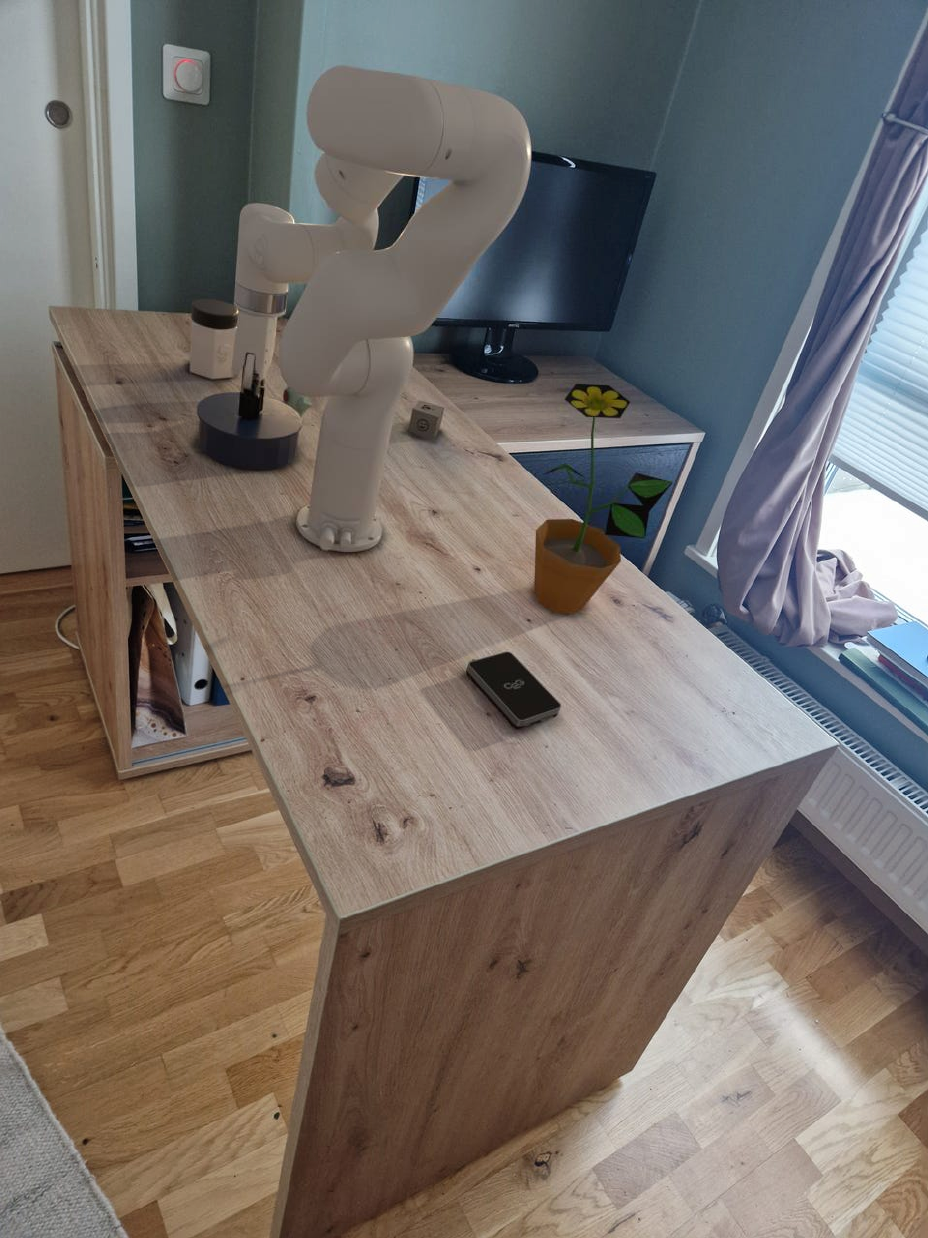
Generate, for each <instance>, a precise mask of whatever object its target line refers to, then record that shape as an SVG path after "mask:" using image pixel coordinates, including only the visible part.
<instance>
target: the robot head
mask: <svg viewBox="0 0 928 1238" xmlns="http://www.w3.org/2000/svg"><path fill="white" fill-rule="evenodd" d="M282 401H283V403H285V404H286V405H288V406H290V407H291V408H293V409H294V410H295V411H296V412H297V413H298V414H299V415H300V417H301V419H302V418H304V417H303V416H304V415H305V413H306V411H307V410H309V409H310V408H311V407H313V404H312V403H311V401H310V399H309V397H307V396H303V395H300V394H298V393H296V392H295V391H293V390H292V389H291V388H290V387H289V386H288V385H287V384H286V386H285V389H284V390H283V394H282Z"/></svg>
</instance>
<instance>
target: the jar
mask: <svg viewBox="0 0 928 1238" xmlns="http://www.w3.org/2000/svg"><path fill="white" fill-rule="evenodd" d="M238 314H239V309H238V308H237V307H235V305H234V304H231V303H229V302H226V301H222V300H220V299H219V300H218V299H213V298H200V299H195V300H193V301H192V302H191V312H190V316H191V317H190V318H191V328H190V329H191V330H190V355H189V372H190V373H191V374H192V373H193V374H195V375H199V376H200V377H204V378H207V379H209V380H220V379H230V378H234V376H233V375H232V373H231V368H232V359H233V350H234V341H235V332H236V325H237V319H238Z"/></svg>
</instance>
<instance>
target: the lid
mask: <svg viewBox="0 0 928 1238" xmlns="http://www.w3.org/2000/svg"><path fill="white" fill-rule="evenodd" d="M253 383H255V382H253ZM255 385H256V383H255ZM261 387H262V386H260V390H261ZM259 395H260V394H259ZM239 398H240V391H238V392H237V391H236V392H234V391H232V392H231V391H230V392H229V391H227V392H220V393H219V392H218V393H215V394H211V395H208V396H206V397H203V399H201V400H200V401H199V402H198V404H197V406H196V415H197V417H198V419H199V420H201V421H202V422H203V423H204V424H205V425H206V426H208V427H209V428H211V429H213V430H215V431H217V432H219V433H222V434H224V435H227V436H230V437H234V438H238V439H243V440H250V441H278V440H283V439H287V438H290V437H292V436H294V435H296V434H297V433H298V432H299V433H300V431H301V430H302V426H303V420H302V418H301V417H300V415H299V414H298V413H297V412H296V411H295V410H294V409H293V408H291V407H290V406H288V405H286V404H285V403H283V402H282V401H280V400H278V399H276V398H274V397H273V398H272V397H269V396H266V395H264V401H263V410H262V411H261V412H260V415H259V419H258V420H255V419H250V418H246V417H241V416H239V415H238V411H239Z"/></svg>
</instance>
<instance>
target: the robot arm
mask: <svg viewBox="0 0 928 1238" xmlns="http://www.w3.org/2000/svg"><path fill="white" fill-rule="evenodd" d="M306 103H307V104H306V125H307V129H308V133H309V135H310V136H309V137H310V138H311V140H312V142H313V143H314V145H315V147H316V148H317V149H319V150H320V151H321V153H322V154H321V156H320V157H318V158H319V159H318V160H317V162H316V165H315V169H314V180H315V181H314V182H315V185H316V188H317V190H318V191H317V192H318V193H319V194H320V197H321V199H322V200H323V201H324V203H325V204H326V205H327V206H328V207H329V208H330V209H331V210H332V211H333V212H334V213H336V215H338V216H339V217H338V218H337V220H336V221H334V223H332V224H318V223H301V222H300V223H298V222H296V223H295V220H294V217H293V216H292V215H291V213H289V212H288V211H287V210H285V209H283V208H280V207H278V206H274V205H271V204H267V203H259V202H257V203H255V202H254V203H248V204H245V205H244V206H243V207H242V209H241V211H240V213H239V223H238V237H237V249H236V250H237V252H236V262H235V278H234V279H235V280H234V292H233V293H234V294H233V306H235V307H236V308H237V310H238V319H237V325H236V332H235V341H234V350H233V359H232V368H231V373H232V375H233V377H236V376H239V375H240V373H241V382H240V391H239V392H240V398H239V411H238V415H239V416H241V417H246V418H250V419H255V420H258V419H259V415H260V412H261V411H262V410H263V401H264V396H265V390H266V387H265V381H266V376H267V373H268V372H269V370H270V367H271V365H272V362H273V358H274V357H273V356H274V351H275V344H276V338H277V337H276V336H277V326H278V318H280V317H282V316H284V315H286V312H287V302H288V293H289V284H291V285H292V284H294V285H295V284H296V285H301V284H307V285H306V286H305V288H304V290H303V291H302V294H301V295H300V298H299V299H298V301H297V304H296V305H295V307H294V309H293V310H292V313H291V315H290V317H289V319H288V321H287V323H286V324H285V327H284V329H283V332H282V335H281V337H280V342H279V347H278V364H279V365H278V367H279V372H280V374H281V376H282V379H283V381H284V382H285V384H286V386H287V385H288V386H289V387H290V388H291V389H292V390H293V391H295V392H296V393H298V394H300V395H303V396H307V397H308V398H326V397H328V398H327V400H326V403H325V406H324V408H323V411H322V415H321V421H320V427H319V434H318V440H317V441H318V442H317V448H316V454H315V455H316V456H315V462H314V470H313V476H312V484H311V491H310V497H309V504H306V505H305V506H303V507H302V508H300V509H299V510H298V512H297V515H296V520H295V525H296V529H297V530H298V532H299V534H301V536H302V537H303V538H304V539H306V540H307V541H308V542H310V543H312V544H314V545H315V546H318V547H319V548H320V549H321V550H323V551H335V552H339V553H340V552H341V553H357V552H363V551H366V550H369V549H371V548H373V547H375V546H377V544H378V543H380V540H381V538H382V534H383V527H382V523H381V522H380V521H379V519H378V517H376V511H377V506H378V505H377V504H378V499H379V495H380V490H381V485H382V479H383V476H384V469H385V464H386V458H387V454H388V450H389V449H388V448H389V444H390V439H391V435H392V430H393V425H394V420H395V416H396V413H397V408H398V406H399V403H400V401H401V398H402V394H403V392H404V390H405V387H406V386H407V383H408V380H409V378H410V375H411V373H412V369H413V364H414V356H415V355H414V352H415V351H414V344H413V340H412V338H411V337H413V336H414V337H415V336H418V335H420V334H422V333H424V332H426V331H427V330H428V329H429V328H430V327H431V326H432V325H433V323H434V322H435V321H436V320H437V318H438V317H439V315H440V314H441V313H442V312H443V310H444V308H445V307H446V306H447V304H448V303H449V301H451V299H452V297H453V296H454V295H455V294H456V292H457V291H458V290H459V288H460V286H462V284H463V282H464V281H465V280H466V278H467V276H468V275H469V273H470V272H471V271H472V269H473V268H474V266H475V265H476V264H477V262H478V261H479V260H480V258H481V257H482V256H483V255H484V254H485V252H486V251H487V250H488V249H489V247H491V245H492V244H493V243H494V242H495V241H496V239H497V238H498V237H499V236H500V235H501V233H502V232H503V231H504V230H505V228H506V227H507V226H508V224H509V223H510V221H511V220H512V219H513V218H514V216H515V214H516V212H517V210H518V208H519V206H520V205H521V203H522V200H523V198H524V196H525V193H526V190H527V186H528V182H529V179H530V174H531V167H532V144H531V143H532V142H531V135H530V131H529V127H528V124H527V122H526V120H525V117H524V116H523V115H522V113H521V111H520V110H519V109H518V108H517V107H516V106H515V105H513V104H512V103H511V102H510V101H508V100H506V99H505V98H504V97H501V96H500V95H497V94H495V93H492V92H489V91H486V90H484V89H483V90H482V89H478V88H476V87H470V86H465V85H461V84H457V83H456V84H455V83H449V82H446V81H440V80H436V79H430V78H426V77H422V76H417V75H416V76H415V75H412V74H406V73H399V72H392V71H391V72H390V71H383V70H382V71H381V70H374V69H373V70H372V69H365V68H361V67H356V66H351V65H344V64H339V65H335V66H332V67H330V68H329V69H326V70H325V71H324V72H323V73H321V74H320V76H319V77H318V78H317V79H316V81H315V83H314V85H313V86H312V88H311V90H310V93H309V96H308V100H307V102H306ZM405 176H409V177H418V178H427V179H437V180H445V181H446V180H447V181H450V182H449V183H447V185H446V186H445V187H444V188H442V189H441V190H439V191H438V192H437V193H436V194H433V196H431V197H430V198H429V199H427V200H426V201H425V202H423V204H422V205H421V206H420V207H418V209H417V210H416V211H415V212H414V213H413V214H412V216H411V217H410V219H409V220H408V222H407V224H406V226H405V228H404V230H402V233H401V234H400V235H399V237H398V238H397V240H396V241H395V242H394V243H393V244H392V245H391V246H389V247H386V248H383V249H379V250H378V249H375V246H376V243H377V238H378V233H379V213H378V207H379V206H380V205H381V204H382V202H383V201H385V199H386V197H387V196H388V195H389V194H390V193H391V191H392V190H393V189H394V188H395V187H396V185H398V183H399V182H400V181H401V180H402V179H403V177H405ZM374 249H375V250H374ZM241 371H242V372H241ZM253 382H255V383H256V385H255V383H253ZM260 386H261V390H260ZM259 394H260V395H259Z"/></svg>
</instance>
